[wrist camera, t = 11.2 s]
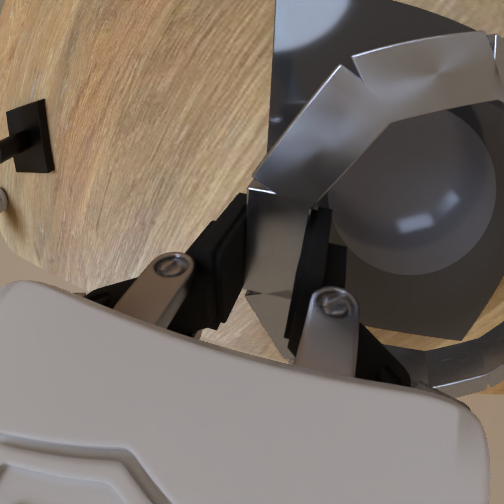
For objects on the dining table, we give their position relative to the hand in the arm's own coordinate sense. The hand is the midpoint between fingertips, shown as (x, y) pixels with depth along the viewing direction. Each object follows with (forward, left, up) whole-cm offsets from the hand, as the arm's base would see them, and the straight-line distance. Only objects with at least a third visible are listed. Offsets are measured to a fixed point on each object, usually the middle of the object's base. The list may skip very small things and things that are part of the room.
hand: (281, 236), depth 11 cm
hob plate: (0, -7, -9) cm, 11 cm away
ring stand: (+2, +30, -9) cm, 31 cm away
